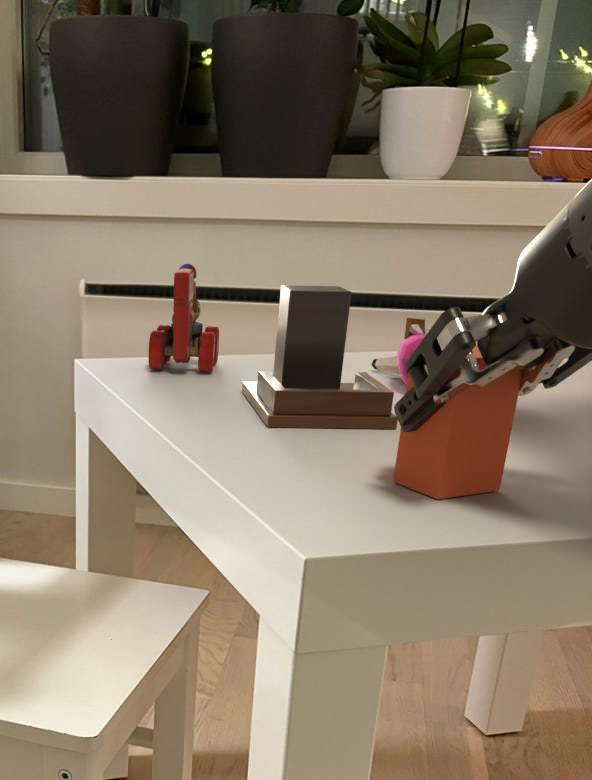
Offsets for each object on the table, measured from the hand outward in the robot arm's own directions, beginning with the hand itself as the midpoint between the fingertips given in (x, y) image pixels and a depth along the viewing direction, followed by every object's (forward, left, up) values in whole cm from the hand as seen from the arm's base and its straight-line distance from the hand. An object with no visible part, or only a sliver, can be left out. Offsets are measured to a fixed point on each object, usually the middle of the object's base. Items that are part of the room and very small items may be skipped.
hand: (438, 416), depth 67 cm
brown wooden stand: (+3, -23, -5) cm, 24 cm away
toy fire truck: (+13, -43, -5) cm, 46 cm away
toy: (-12, -35, -5) cm, 38 cm away
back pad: (-1, +2, -4) cm, 5 cm away
